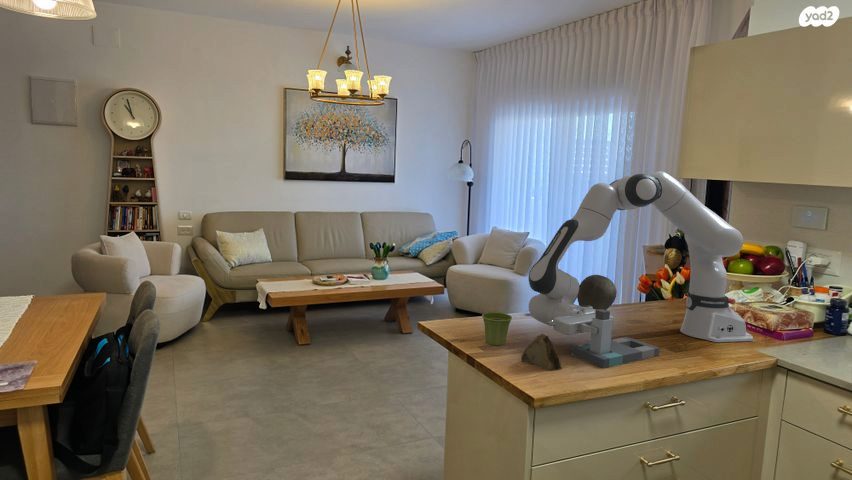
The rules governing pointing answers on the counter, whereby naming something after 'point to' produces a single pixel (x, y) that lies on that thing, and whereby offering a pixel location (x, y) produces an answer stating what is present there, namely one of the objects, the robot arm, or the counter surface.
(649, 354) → the panel
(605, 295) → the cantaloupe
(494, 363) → the counter surface
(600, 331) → the plug
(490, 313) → the plant pot
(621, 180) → the robot arm
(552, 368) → the rock
